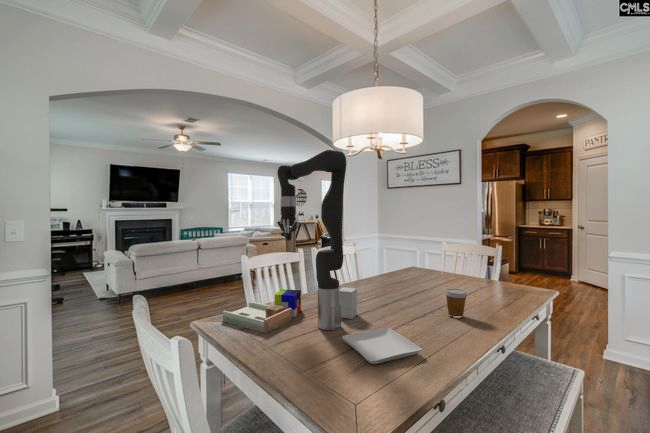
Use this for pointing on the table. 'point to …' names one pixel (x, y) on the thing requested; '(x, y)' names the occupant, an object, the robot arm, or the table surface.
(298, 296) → the puzzle toy
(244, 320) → the box
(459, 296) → the disposable coffee cup
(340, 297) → the supplement box
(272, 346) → the table surface
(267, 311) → the walnut block
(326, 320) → the robot arm
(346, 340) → the salad plate
